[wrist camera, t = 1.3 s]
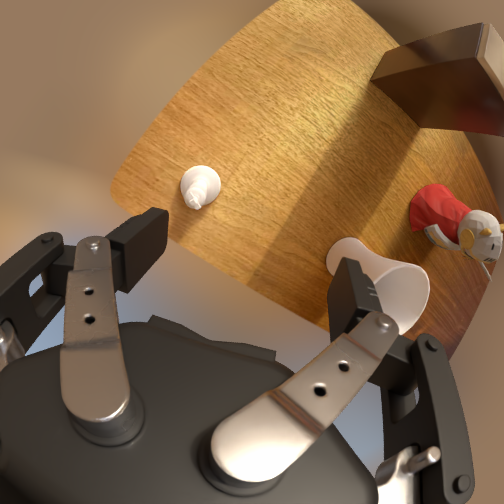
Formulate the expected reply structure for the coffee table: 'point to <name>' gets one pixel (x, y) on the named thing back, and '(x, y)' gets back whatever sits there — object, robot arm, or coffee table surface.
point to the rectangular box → (449, 80)
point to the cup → (387, 281)
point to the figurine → (456, 225)
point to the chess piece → (199, 186)
